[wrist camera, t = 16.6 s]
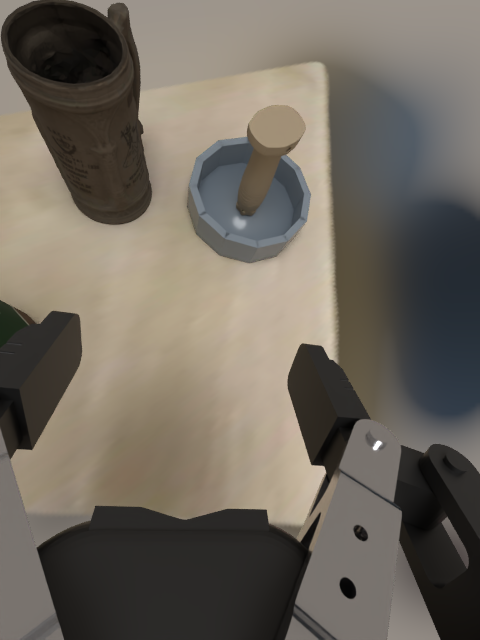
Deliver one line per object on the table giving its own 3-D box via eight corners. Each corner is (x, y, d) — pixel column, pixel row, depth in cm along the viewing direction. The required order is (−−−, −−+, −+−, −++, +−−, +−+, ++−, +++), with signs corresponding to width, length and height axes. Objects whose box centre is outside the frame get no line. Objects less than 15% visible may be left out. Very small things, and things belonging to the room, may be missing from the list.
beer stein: (137, 239, 42) (113, 103, 24) (57, 215, 41) (-36, 49, 22) (167, 157, 47) (167, -8, 29) (97, 134, 46) (50, -58, 27)
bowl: (177, 243, 43) (177, 225, 39) (203, 149, 48) (206, 122, 43) (288, 273, 46) (301, 260, 41) (302, 181, 51) (315, 159, 46)
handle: (219, 204, 45) (240, 118, 31) (253, 186, 47) (287, 98, 33) (238, 230, 45) (267, 155, 31) (271, 211, 47) (313, 132, 32)
